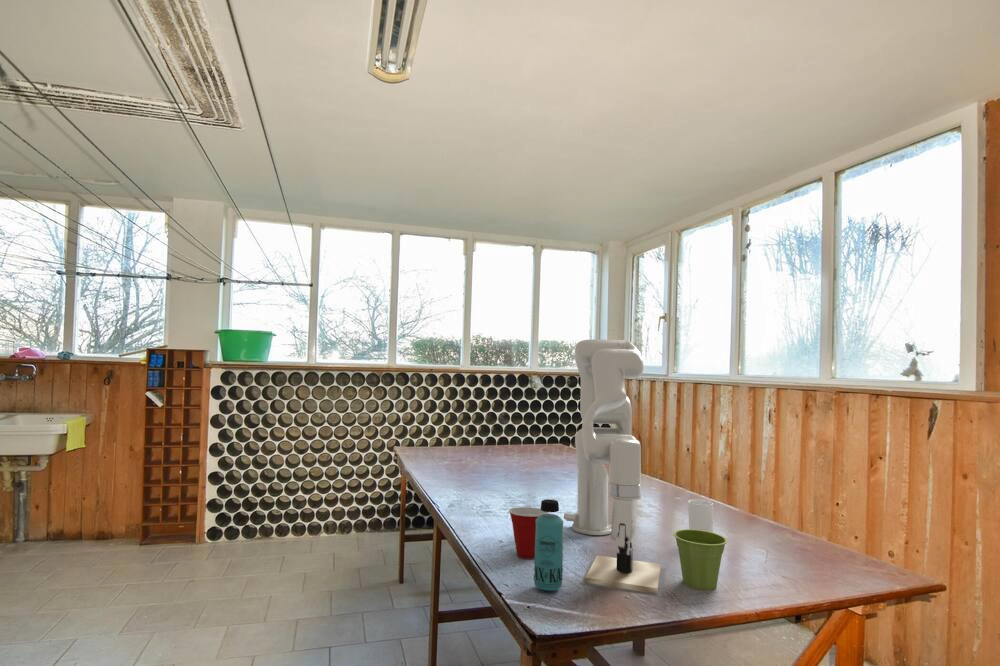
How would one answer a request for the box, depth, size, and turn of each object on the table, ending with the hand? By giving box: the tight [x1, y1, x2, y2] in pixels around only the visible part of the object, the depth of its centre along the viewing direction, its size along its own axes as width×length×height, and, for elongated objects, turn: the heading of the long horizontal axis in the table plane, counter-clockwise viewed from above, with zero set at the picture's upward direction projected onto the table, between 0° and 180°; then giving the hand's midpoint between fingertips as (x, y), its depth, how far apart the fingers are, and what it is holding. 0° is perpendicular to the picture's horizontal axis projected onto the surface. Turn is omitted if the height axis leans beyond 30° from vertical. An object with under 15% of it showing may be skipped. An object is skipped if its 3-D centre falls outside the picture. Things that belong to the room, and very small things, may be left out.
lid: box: [585, 548, 662, 594], centre depth 127 cm, size 16×16×6 cm
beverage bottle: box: [533, 498, 564, 591], centre depth 119 cm, size 6×7×20 cm
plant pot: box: [672, 528, 728, 591], centre depth 123 cm, size 12×12×11 cm
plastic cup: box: [508, 506, 550, 560], centre depth 142 cm, size 11×11×12 cm
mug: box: [687, 499, 714, 533], centre depth 155 cm, size 10×7×12 cm, turn 149°
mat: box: [580, 557, 666, 598], centre depth 127 cm, size 18×18×1 cm
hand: (624, 567), depth 127 cm, fingers closed on lid, 3 cm apart
